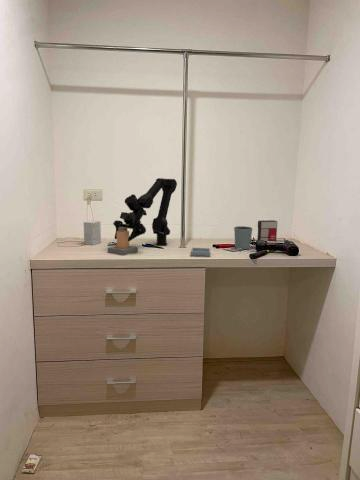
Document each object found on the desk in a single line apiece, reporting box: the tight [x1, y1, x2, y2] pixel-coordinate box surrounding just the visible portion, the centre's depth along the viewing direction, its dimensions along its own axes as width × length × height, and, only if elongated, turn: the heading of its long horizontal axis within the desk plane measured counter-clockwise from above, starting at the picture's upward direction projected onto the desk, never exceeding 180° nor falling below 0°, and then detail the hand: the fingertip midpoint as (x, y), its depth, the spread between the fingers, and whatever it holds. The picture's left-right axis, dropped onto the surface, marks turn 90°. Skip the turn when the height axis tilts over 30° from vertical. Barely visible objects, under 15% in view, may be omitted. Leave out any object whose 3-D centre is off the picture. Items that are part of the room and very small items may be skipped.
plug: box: [116, 227, 130, 249], centre depth 195 cm, size 5×4×13 cm
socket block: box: [107, 245, 139, 256], centre depth 196 cm, size 11×11×4 cm
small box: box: [83, 220, 102, 246], centre depth 220 cm, size 8×6×13 cm
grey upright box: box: [256, 219, 278, 243], centre depth 224 cm, size 11×4×15 cm, turn 105°
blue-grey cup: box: [233, 225, 253, 250], centre depth 216 cm, size 10×10×12 cm
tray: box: [190, 247, 212, 258], centre depth 198 cm, size 10×10×2 cm
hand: (121, 239), depth 194 cm, fingers open, 9 cm apart
